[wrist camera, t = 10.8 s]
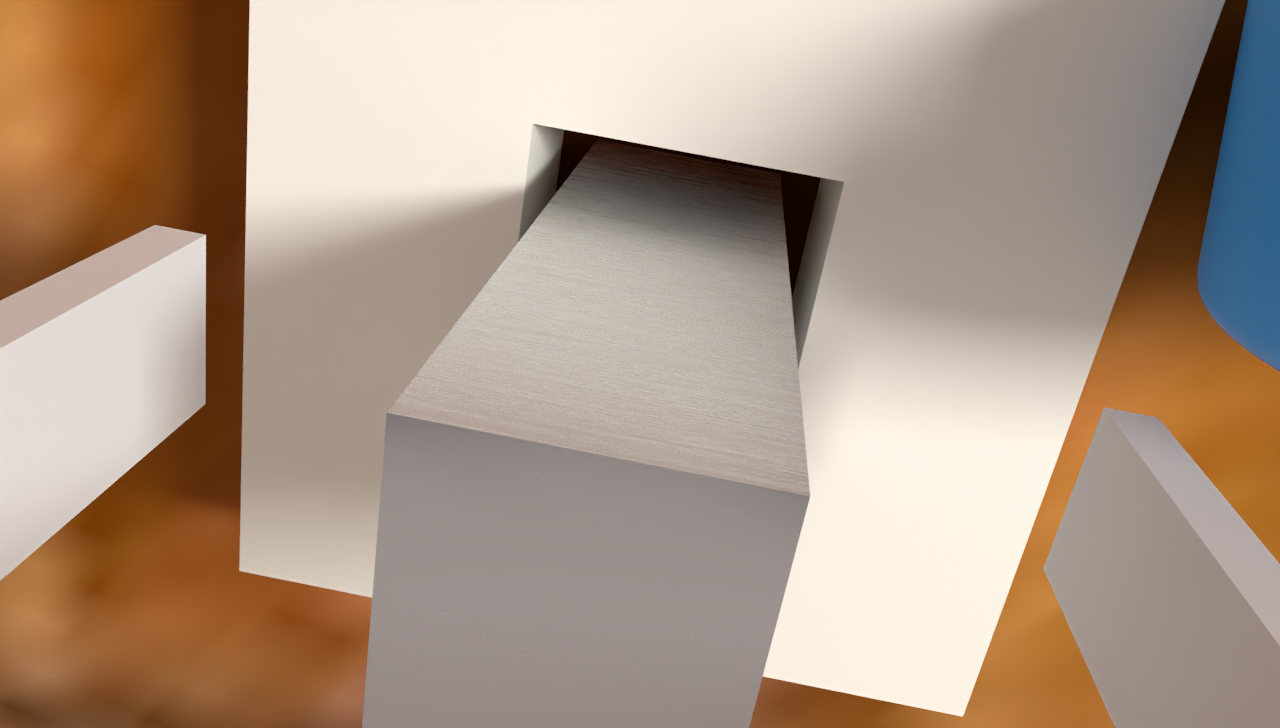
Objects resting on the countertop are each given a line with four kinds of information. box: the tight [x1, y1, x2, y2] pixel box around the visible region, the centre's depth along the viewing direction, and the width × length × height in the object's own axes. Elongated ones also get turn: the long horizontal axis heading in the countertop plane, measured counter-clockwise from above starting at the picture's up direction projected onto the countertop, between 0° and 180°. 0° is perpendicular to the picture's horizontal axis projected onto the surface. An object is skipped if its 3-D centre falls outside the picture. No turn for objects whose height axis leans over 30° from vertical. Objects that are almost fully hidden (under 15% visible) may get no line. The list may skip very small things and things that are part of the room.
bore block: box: [239, 0, 1225, 717], centre depth 21 cm, size 16×16×4 cm
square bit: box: [362, 140, 810, 728], centre depth 17 cm, size 4×4×14 cm
